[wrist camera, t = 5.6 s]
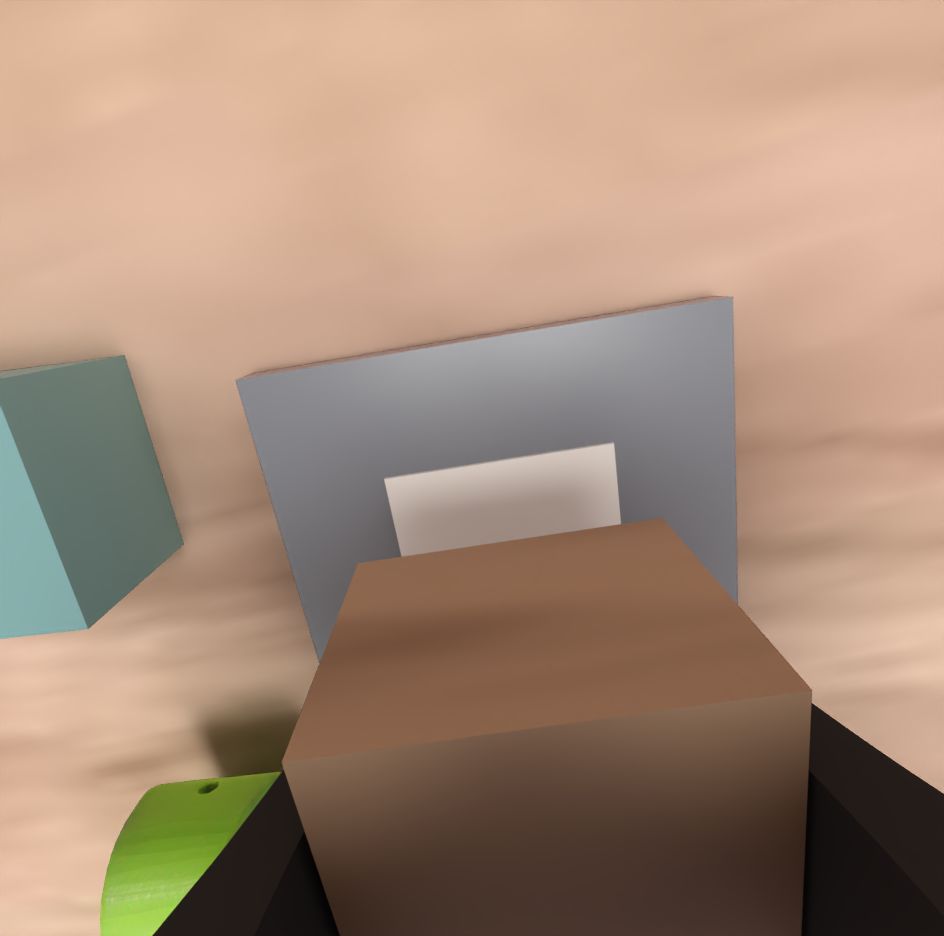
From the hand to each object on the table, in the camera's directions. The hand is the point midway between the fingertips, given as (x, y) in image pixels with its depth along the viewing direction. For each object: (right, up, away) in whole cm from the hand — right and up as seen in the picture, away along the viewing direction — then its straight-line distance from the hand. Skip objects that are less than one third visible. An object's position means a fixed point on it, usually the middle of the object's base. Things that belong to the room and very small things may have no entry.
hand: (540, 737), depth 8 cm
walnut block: (0, +1, +1) cm, 2 cm away
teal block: (-11, +4, +6) cm, 14 cm away
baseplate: (0, +2, +6) cm, 7 cm away
